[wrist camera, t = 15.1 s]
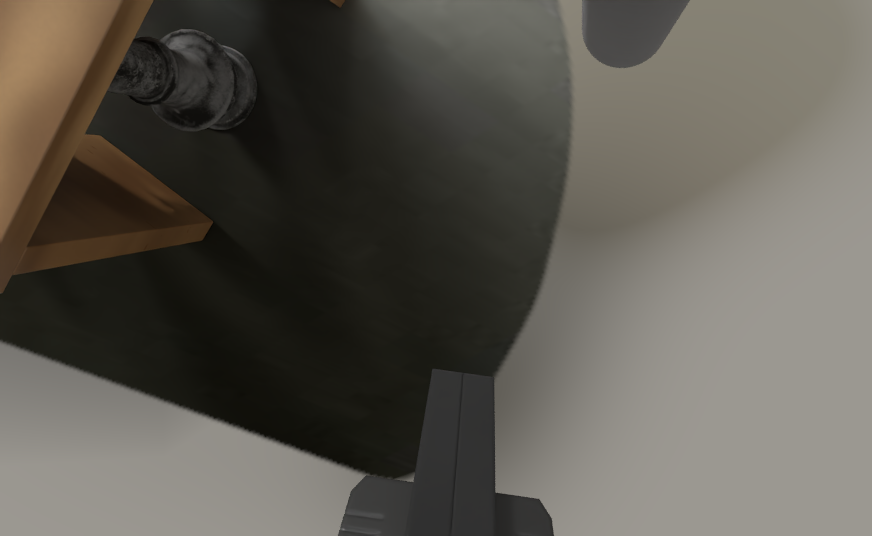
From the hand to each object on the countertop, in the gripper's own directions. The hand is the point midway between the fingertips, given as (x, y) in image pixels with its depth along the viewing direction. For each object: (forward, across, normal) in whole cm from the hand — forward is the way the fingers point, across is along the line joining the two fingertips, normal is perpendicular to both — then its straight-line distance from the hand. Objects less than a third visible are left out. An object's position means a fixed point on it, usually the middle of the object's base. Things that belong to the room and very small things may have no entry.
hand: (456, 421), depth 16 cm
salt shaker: (+29, -17, +3) cm, 34 cm away
